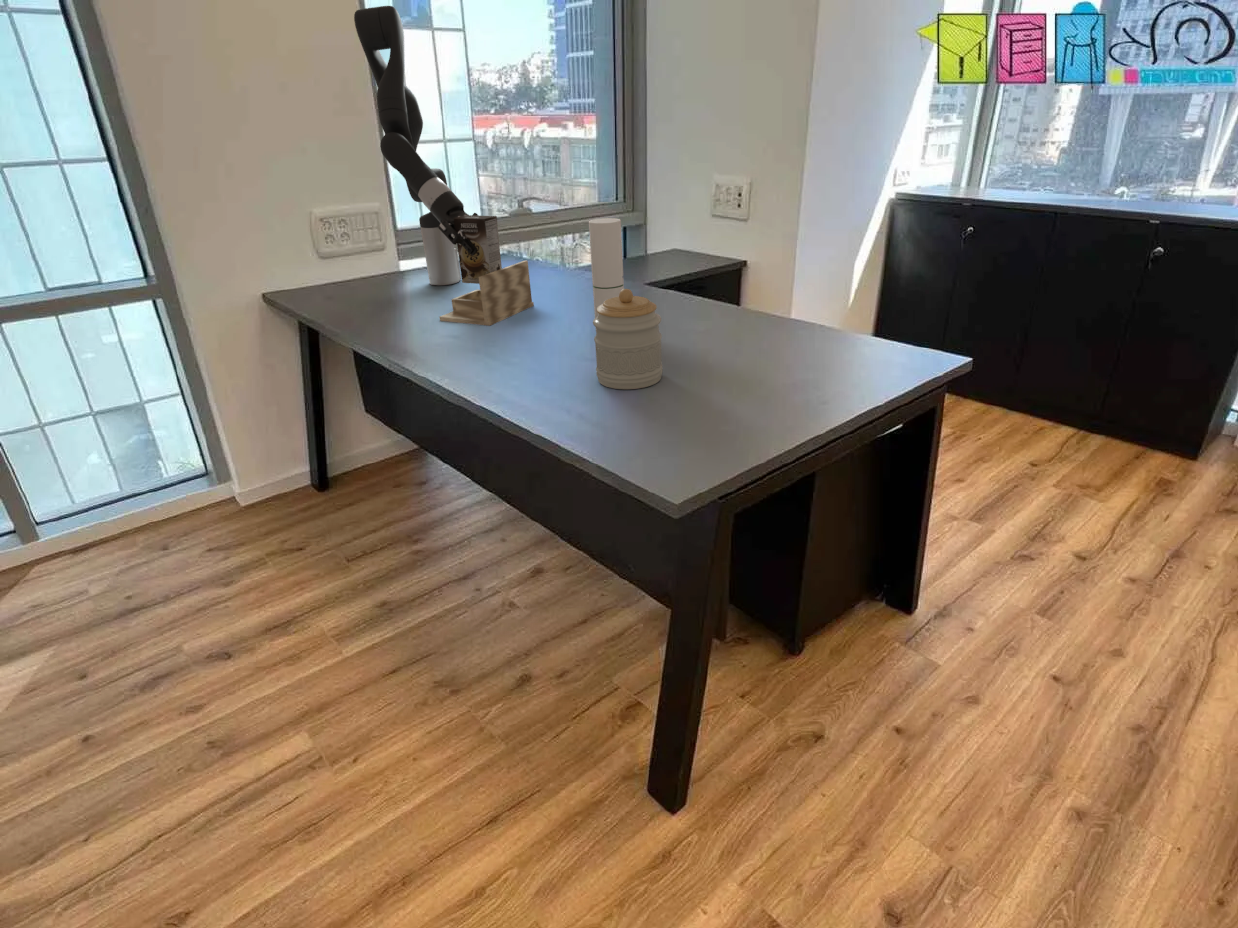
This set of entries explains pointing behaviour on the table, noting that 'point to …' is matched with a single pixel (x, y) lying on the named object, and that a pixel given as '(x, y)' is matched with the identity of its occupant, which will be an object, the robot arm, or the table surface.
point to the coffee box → (478, 247)
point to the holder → (494, 297)
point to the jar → (628, 342)
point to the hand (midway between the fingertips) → (484, 250)
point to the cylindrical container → (606, 259)
